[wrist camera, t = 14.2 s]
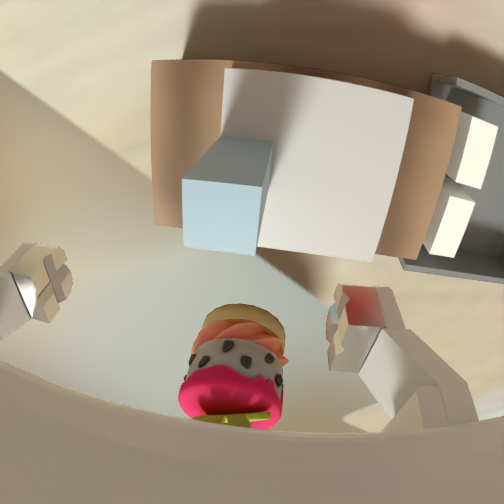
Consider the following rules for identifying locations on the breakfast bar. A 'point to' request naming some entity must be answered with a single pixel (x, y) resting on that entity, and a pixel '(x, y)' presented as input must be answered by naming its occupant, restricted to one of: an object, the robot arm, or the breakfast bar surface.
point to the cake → (236, 369)
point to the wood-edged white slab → (212, 74)
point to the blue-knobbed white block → (297, 167)
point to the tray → (473, 194)
